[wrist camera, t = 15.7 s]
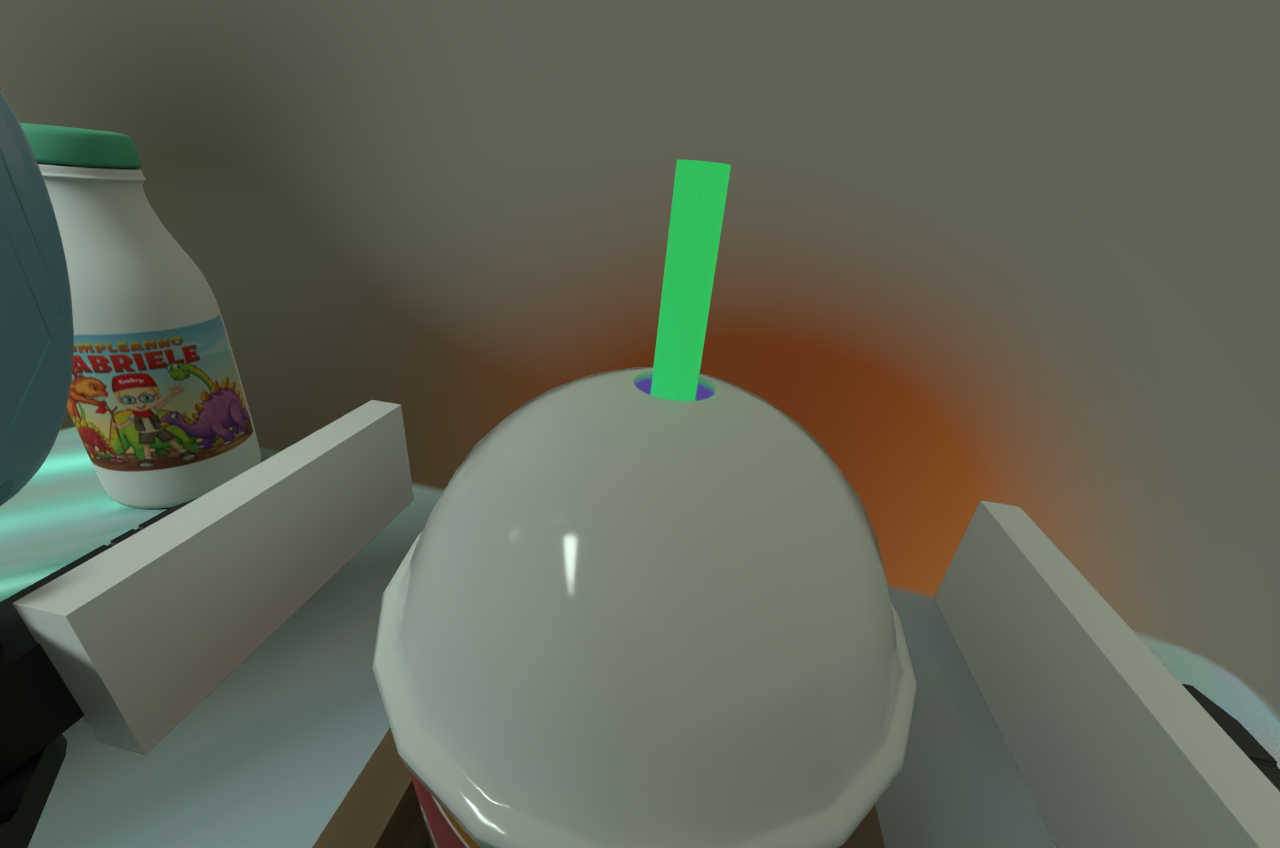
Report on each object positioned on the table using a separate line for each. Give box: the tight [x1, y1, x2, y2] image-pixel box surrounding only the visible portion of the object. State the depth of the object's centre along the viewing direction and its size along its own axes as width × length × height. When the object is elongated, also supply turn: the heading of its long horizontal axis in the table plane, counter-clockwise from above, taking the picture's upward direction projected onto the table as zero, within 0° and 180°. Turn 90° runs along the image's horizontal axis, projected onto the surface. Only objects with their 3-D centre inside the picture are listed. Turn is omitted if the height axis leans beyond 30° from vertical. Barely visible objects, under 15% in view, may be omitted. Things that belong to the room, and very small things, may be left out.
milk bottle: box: [20, 123, 261, 509], centre depth 28 cm, size 8×8×20 cm
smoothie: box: [372, 160, 918, 848], centre depth 10 cm, size 8×8×20 cm
